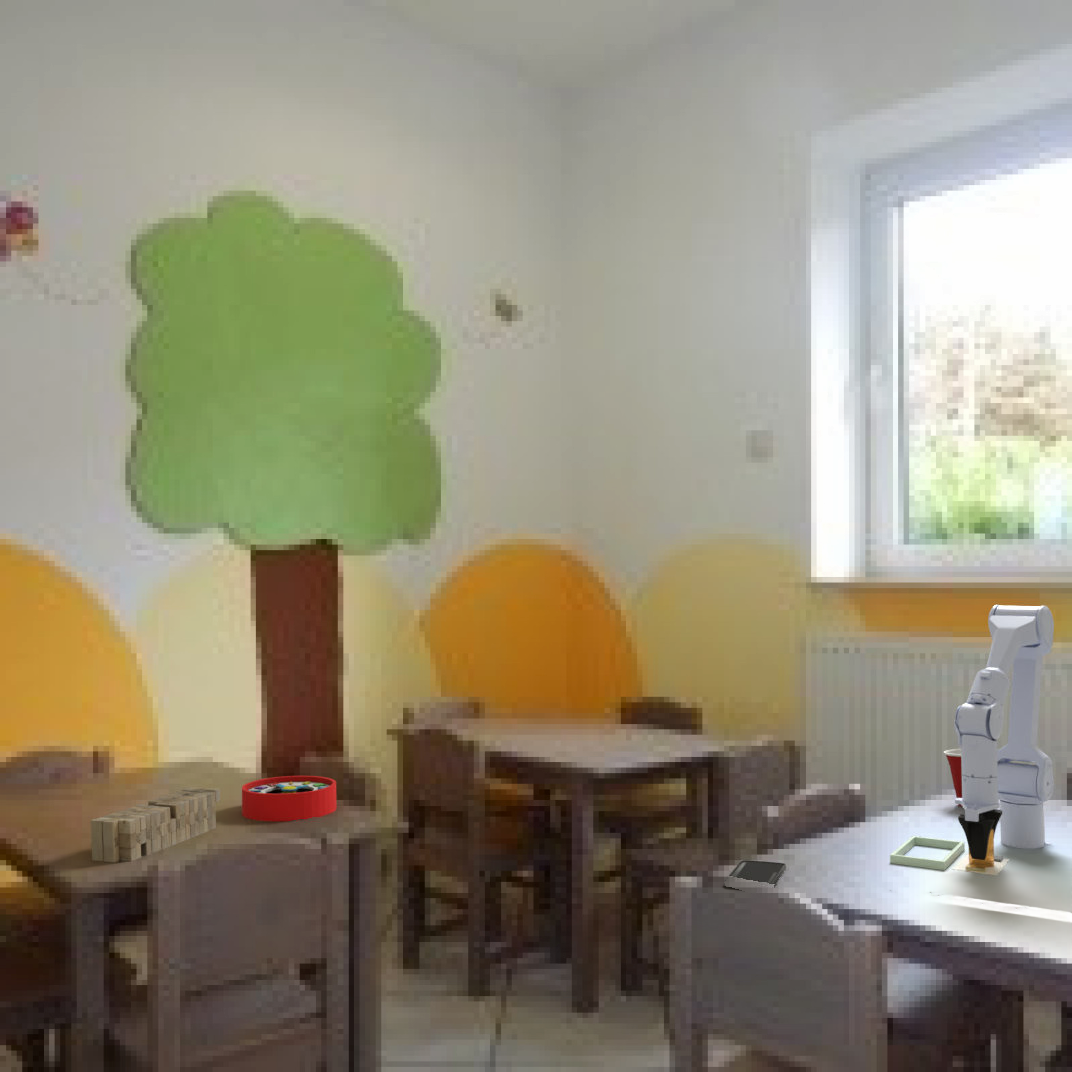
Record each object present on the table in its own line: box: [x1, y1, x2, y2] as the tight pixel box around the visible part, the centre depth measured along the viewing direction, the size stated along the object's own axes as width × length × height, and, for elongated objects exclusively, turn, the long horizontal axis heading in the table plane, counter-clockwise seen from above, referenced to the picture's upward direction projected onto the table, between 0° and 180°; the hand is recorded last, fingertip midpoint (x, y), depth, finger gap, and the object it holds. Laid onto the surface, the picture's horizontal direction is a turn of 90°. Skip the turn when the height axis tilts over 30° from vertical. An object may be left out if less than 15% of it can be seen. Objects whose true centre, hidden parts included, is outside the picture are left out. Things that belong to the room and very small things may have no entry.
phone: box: [728, 859, 787, 885], centre depth 190 cm, size 8×1×15 cm
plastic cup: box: [943, 748, 963, 808], centre depth 240 cm, size 11×11×12 cm
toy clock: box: [241, 775, 338, 822], centre depth 245 cm, size 20×6×20 cm
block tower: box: [90, 787, 221, 863], centre depth 219 cm, size 8×8×29 cm
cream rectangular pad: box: [952, 853, 1010, 876], centre depth 191 cm, size 11×7×2 cm, turn 148°
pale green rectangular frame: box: [889, 835, 965, 871], centre depth 197 cm, size 15×9×2 cm, turn 148°
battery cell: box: [968, 828, 995, 867], centre depth 191 cm, size 4×4×7 cm
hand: (981, 855), depth 191 cm, fingers closed on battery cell, 4 cm apart
